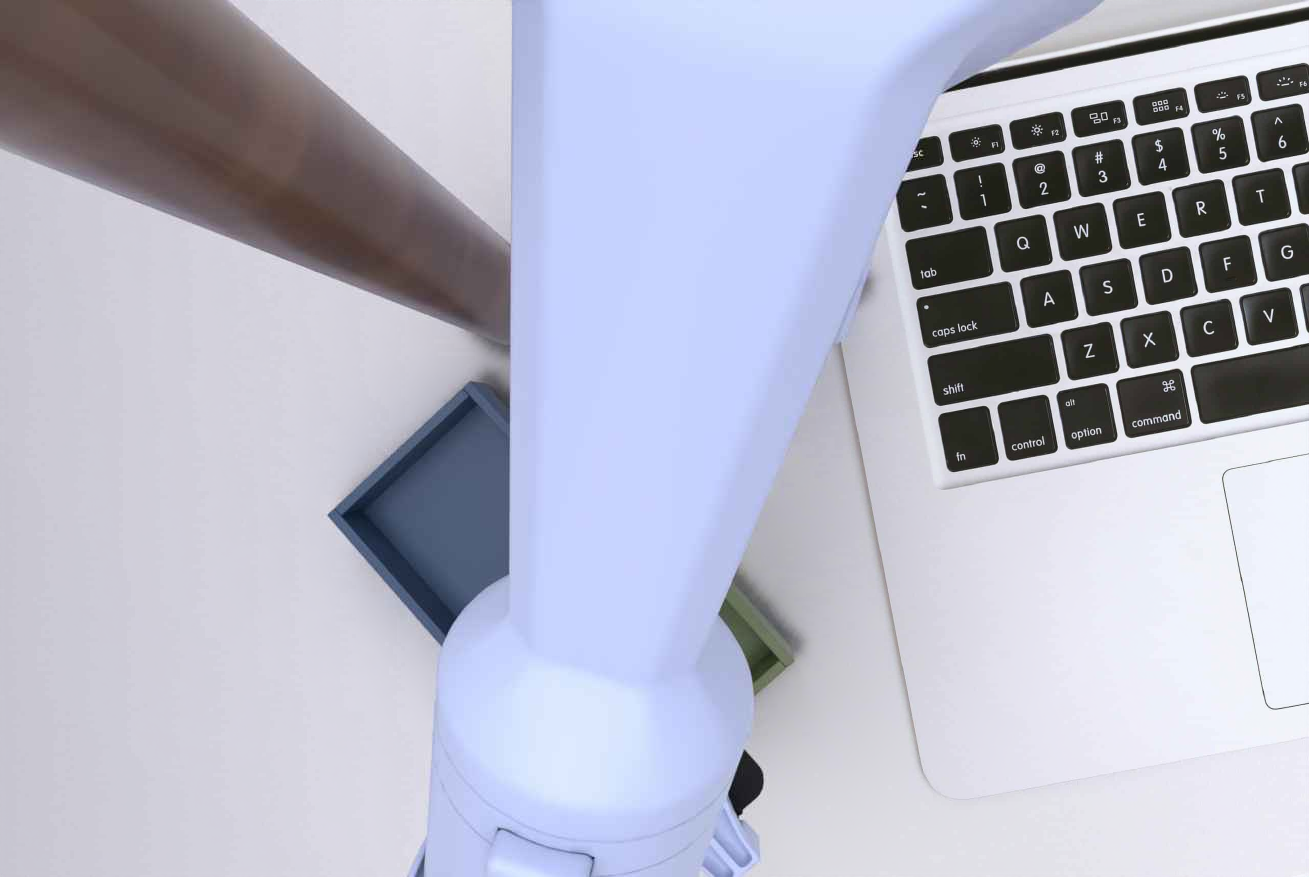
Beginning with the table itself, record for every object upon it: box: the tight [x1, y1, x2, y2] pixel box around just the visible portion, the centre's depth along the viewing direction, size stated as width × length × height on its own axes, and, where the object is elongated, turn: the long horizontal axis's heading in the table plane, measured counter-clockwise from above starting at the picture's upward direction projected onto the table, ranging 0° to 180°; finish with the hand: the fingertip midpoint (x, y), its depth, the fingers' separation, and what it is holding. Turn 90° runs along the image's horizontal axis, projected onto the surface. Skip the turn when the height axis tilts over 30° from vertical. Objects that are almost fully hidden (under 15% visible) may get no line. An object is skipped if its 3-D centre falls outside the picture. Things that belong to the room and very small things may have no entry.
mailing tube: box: [0, 0, 511, 347], centre depth 27 cm, size 5×5×48 cm
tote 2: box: [718, 580, 795, 697], centre depth 49 cm, size 11×11×4 cm
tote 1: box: [326, 380, 510, 648], centre depth 49 cm, size 11×11×4 cm
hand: (641, 669), depth 43 cm, fingers open, 7 cm apart
